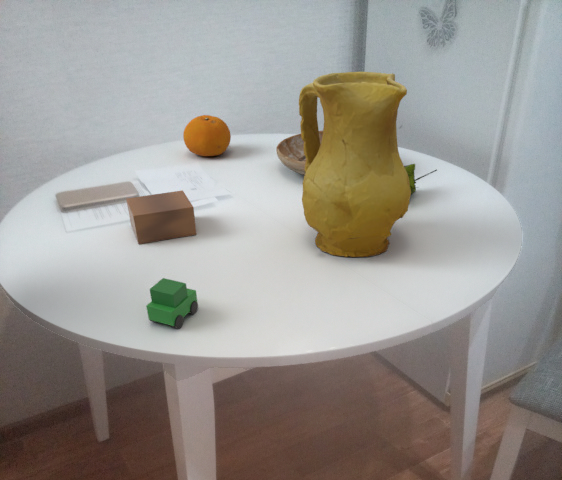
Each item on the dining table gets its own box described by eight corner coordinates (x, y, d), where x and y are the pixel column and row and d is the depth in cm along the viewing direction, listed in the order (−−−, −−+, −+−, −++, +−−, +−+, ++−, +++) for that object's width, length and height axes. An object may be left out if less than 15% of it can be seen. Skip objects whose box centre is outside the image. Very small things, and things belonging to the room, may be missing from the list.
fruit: (209, 164, 124) (206, 126, 119) (176, 155, 129) (172, 118, 124) (240, 152, 130) (238, 115, 125) (208, 144, 135) (205, 108, 130)
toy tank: (361, 174, 103) (407, 175, 96) (416, 150, 113) (462, 150, 107) (364, 213, 106) (409, 216, 100) (417, 186, 117) (462, 187, 110)
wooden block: (138, 244, 94) (133, 216, 90) (131, 225, 99) (125, 198, 96) (196, 234, 96) (193, 206, 93) (186, 217, 102) (182, 190, 99)
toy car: (176, 331, 74) (171, 299, 70) (148, 324, 75) (142, 292, 72) (199, 309, 78) (195, 277, 75) (173, 302, 79) (168, 271, 76)
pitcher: (319, 270, 85) (328, 88, 70) (286, 227, 100) (288, 68, 85) (421, 258, 89) (450, 83, 74) (375, 218, 103) (391, 64, 89)
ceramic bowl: (302, 146, 133) (302, 124, 130) (398, 159, 125) (401, 136, 122) (258, 179, 117) (257, 154, 113) (366, 196, 109) (368, 170, 106)
